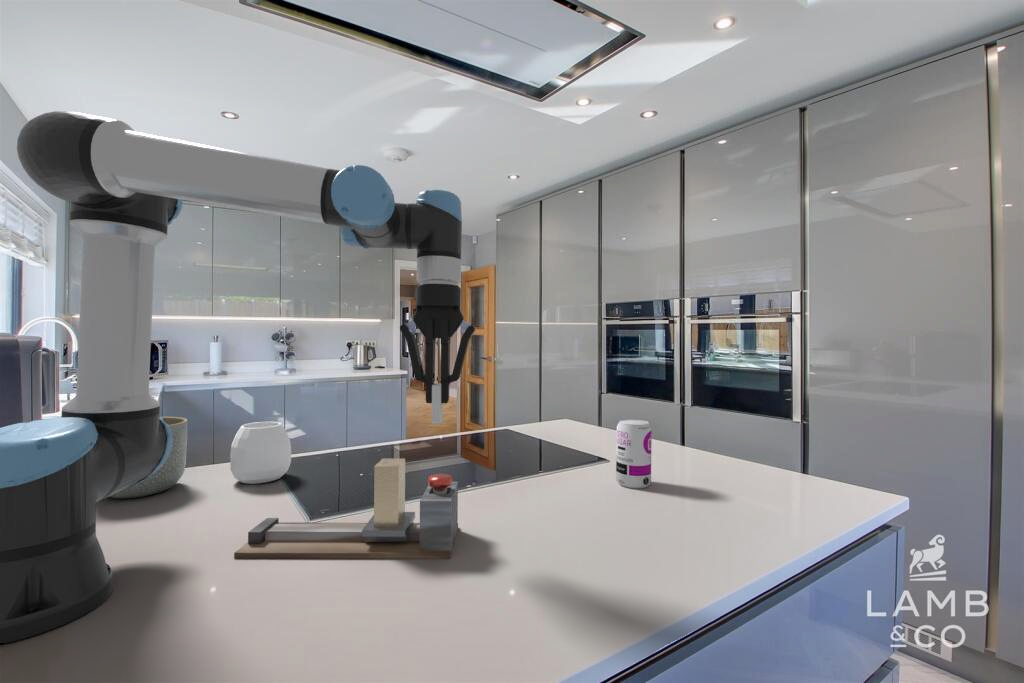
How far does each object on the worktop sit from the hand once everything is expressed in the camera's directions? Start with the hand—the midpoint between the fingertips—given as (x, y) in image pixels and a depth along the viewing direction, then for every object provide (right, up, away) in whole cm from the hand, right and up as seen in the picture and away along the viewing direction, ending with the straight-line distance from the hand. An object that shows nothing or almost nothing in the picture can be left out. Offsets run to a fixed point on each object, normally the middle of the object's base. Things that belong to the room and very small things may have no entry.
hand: (437, 422), depth 79 cm
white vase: (-48, -20, +33) cm, 62 cm away
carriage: (-8, -19, 0) cm, 21 cm away
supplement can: (+42, -21, +32) cm, 57 cm away
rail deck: (-14, -20, 0) cm, 25 cm away
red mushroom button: (0, -17, 0) cm, 17 cm away
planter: (-70, -20, +24) cm, 77 cm away
